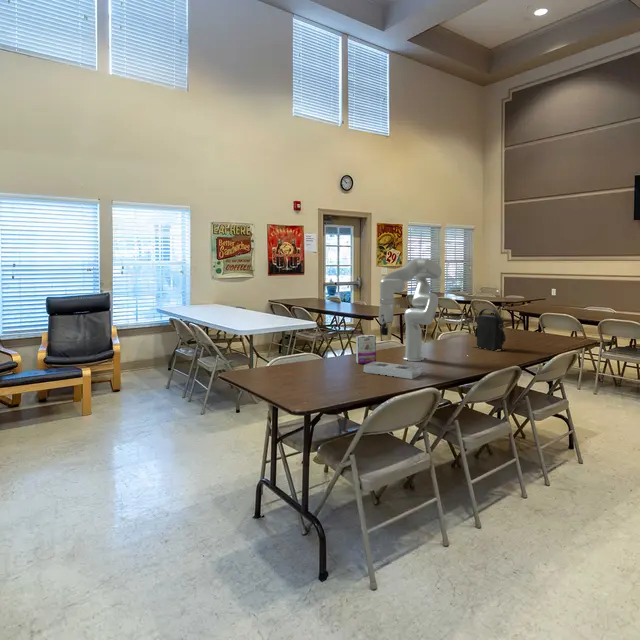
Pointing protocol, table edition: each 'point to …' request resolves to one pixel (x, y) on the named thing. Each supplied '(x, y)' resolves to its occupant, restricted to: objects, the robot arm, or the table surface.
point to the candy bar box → (365, 349)
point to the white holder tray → (392, 370)
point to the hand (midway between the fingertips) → (386, 334)
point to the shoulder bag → (490, 331)
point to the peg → (388, 336)
